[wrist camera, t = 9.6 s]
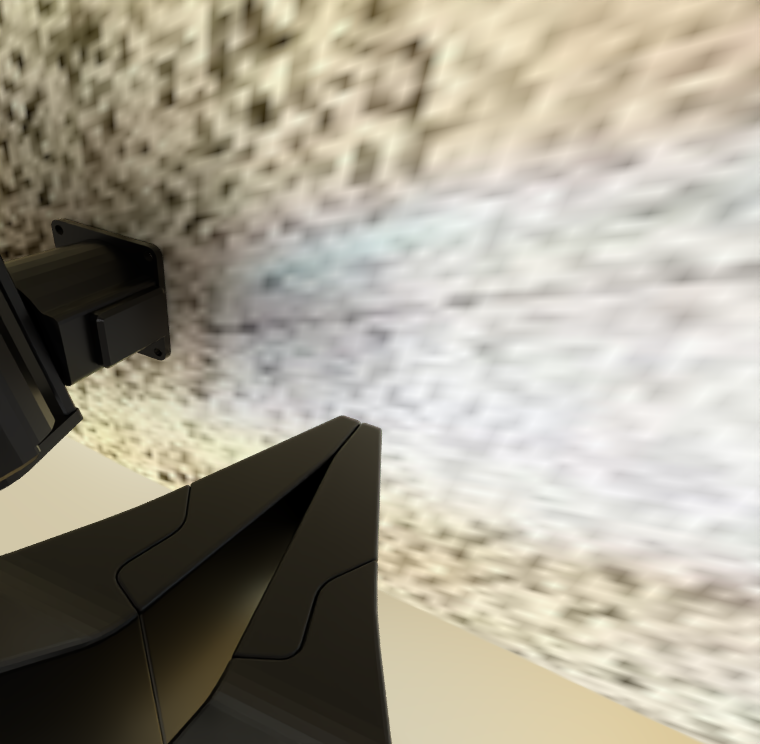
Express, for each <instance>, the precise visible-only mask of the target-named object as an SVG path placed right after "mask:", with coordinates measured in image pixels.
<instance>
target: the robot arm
mask: <svg viewBox="0 0 760 744" xmlns="http://www.w3.org/2000/svg"><path fill="white" fill-rule="evenodd" d="M51 225H52V232H53V237H54V241H55V246H56V248H54V249H51V250H47V251H43V252H39V253H36V254H32V255H28V256H25V257H21V258H17V259H14V260H10V261H6V262H4V261H3V259H2V257H1V255H0V490H2V489H4V488H6V487H7V486H9V485H11V484H12V483H14V482H15V481H16V480H18V479H20V478H21V477H22V476H23V475H24V474H26V473H27V472H28V471H29V470H30V469H31V468H32V467H33V466H34V465H35V464H36V463H38V462H39V460H41V459H42V458H43V457H44V456H45V455H46V454H47V453H48V452H49V451H50V450H51V449H52V448H53V447H54V446H55V445H56V444H57V443H58V442H59V441H60V440H61V439H62V438H64V437H65V436H66V435H67V434H68V433H69V432H70V431H71V430H72V429H73V428H74V427H75V426H76V425H77V424H78V423H79V422H80V421H81V420H82V419H83V416H82V414H81V412H80V410H79V408H76V407H75V405H74V403H73V401H72V399H71V397H70V395H69V393H68V391H67V389H66V387H65V385H66V386H71V385H73V384H75V383H76V382H78V381H80V380H82V379H84V378H85V377H87V376H89V375H91V374H93V373H94V372H96V371H98V370H100V369H102V368H103V367H105V368H110V367H112V366H114V365H115V364H117V363H119V362H121V361H122V360H124V359H126V358H128V357H130V356H131V355H133V354H135V353H137V352H138V353H140V354H143V355H146V356H149V357H152V358H155V359H158V360H164V359H166V358H167V357H169V356H170V353H171V350H170V338H169V327H168V315H167V304H166V292H165V280H164V269H163V257H162V253H161V251H160V249H159V248H158V247H157V246H155V245H153V244H149V243H146V242H143V241H139V240H136V239H132V238H129V237H125V236H122V235H119V234H115V233H112V232H108V231H105V230H102V229H98V228H95V227H91V226H88V225H84V224H81V223H78V222H74V221H71V220H67V219H62V218H61V219H57V220H54V221H52V224H51ZM150 253H151V255H152V257H153V258H152V257H151V256H150ZM160 350H161V351H160ZM381 446H382V430H381V429H380V428H378V427H376V426H373V425H370V424H367V423H362V424H361V423H360V421H358V420H355V419H352V418H350V417H347V416H338V417H336V418H334V419H332V420H330V421H327V422H325V423H323V424H321V425H319V426H316V427H314V428H312V429H310V430H308V431H305V432H303V433H301V434H299V435H297V436H294V437H292V438H290V439H288V440H286V441H283V442H281V443H279V444H277V445H274V446H272V447H270V448H268V449H266V450H263V451H261V452H259V453H257V454H255V455H252V456H250V457H248V458H246V459H244V460H241V461H239V462H237V463H235V464H233V465H230V466H228V467H226V468H224V469H222V470H219V471H217V472H215V473H213V474H210V475H208V476H206V477H204V478H202V479H199V480H197V481H195V482H193V483H192V484H191V487H190V486H189V485H186V486H184V487H181V488H179V489H177V490H175V491H173V492H170V493H168V494H166V495H164V496H161V497H159V498H156V499H155V500H152V501H149V502H147V503H145V504H142V505H140V506H138V507H135V508H132V509H130V510H127V511H125V512H122V513H119V514H117V515H114V516H111V517H109V518H106V519H104V520H101V521H98V522H95V523H92V524H90V525H87V526H84V527H81V528H78V529H76V530H73V531H70V532H67V533H64V534H62V535H59V536H56V537H53V538H50V539H48V540H45V541H42V542H39V543H36V544H33V545H31V546H28V547H25V548H22V549H19V550H17V551H14V552H11V553H8V554H5V555H2V556H0V744H392V742H391V735H390V726H389V717H388V708H387V700H386V691H385V683H384V674H383V666H382V658H381V649H380V637H379V625H378V611H377V610H378V607H377V578H378V563H377V561H378V540H379V509H380V477H381Z"/></svg>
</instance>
